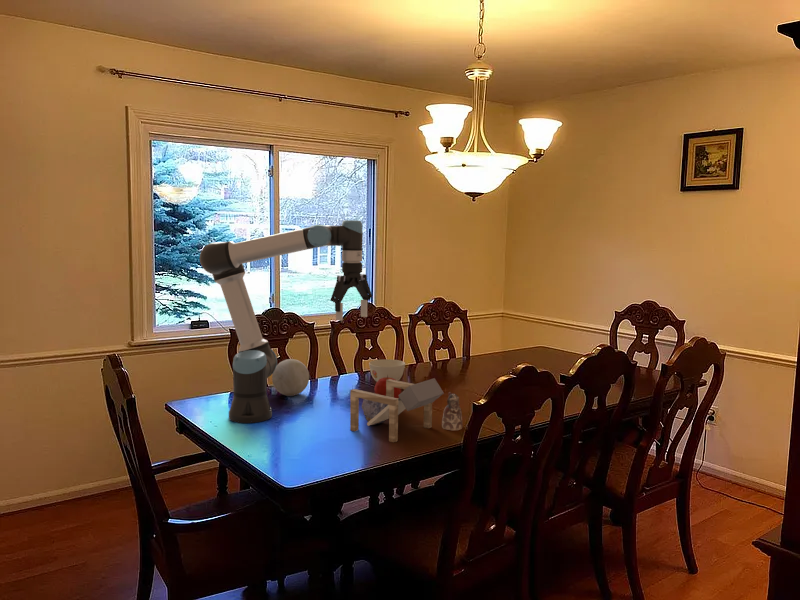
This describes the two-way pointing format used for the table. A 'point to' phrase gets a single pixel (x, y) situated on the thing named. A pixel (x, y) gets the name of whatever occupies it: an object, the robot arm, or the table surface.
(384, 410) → the trapdoor
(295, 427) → the table surface
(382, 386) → the apple
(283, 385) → the decorative sphere
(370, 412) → the rock
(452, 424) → the figurine
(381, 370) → the bowl
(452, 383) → the table surface
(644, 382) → the table surface
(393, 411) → the frame
